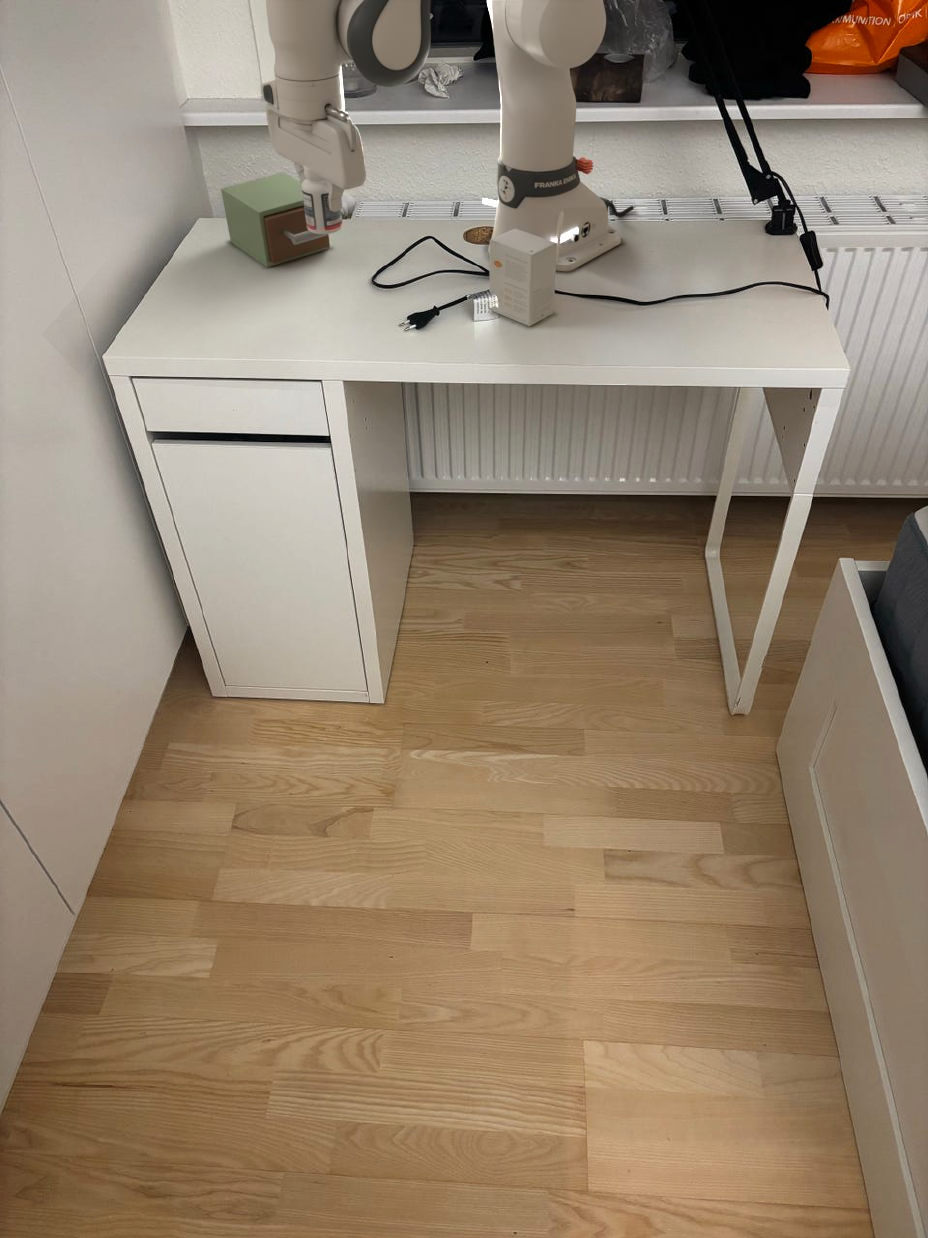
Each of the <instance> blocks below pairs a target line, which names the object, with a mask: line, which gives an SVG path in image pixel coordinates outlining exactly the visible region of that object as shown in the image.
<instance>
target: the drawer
mask: <svg viewBox="0 0 928 1238" xmlns="http://www.w3.org/2000/svg"><path fill="white" fill-rule="evenodd" d="M263 219H264V226H265V232H266V238H267V245H268V251H269V257H270V261H271V262H272V263H277V262H280V261H283V260H287V259H290V258H293V257H296V256H300V255H303V254H306V253H310V252H313V251H316V250H319V249H323V248H326V247H329V248H330V246H331V244H330V237H329V235H330V234H316V233H312V232H310V231H309V230H308V229H307V224H306V217H305V209H304V205H303V206H299V207H296V208H292V209H289V210H285V211H281V212H278V213H274V214H271V215H267V216H264V218H263Z"/></svg>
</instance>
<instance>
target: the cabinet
mask: <svg viewBox="0 0 928 1238" xmlns="http://www.w3.org/2000/svg"><path fill="white" fill-rule="evenodd" d="M220 193H221V197H222V202H223V208H224V213H225V218H226V219H225V220H226V224H227V228H228V229H227V230H228V234H229V238H230V239H229V240H230V243H232V244H233V245H235V246H236V247H237V248H239V249H240V250H242V251H243V252H245V253H246V255H247V254H248V255H249V256H250V257H252V258H253V259H255V260H256V261H257V262H259V263H260V264H261V265H263V266H264V267H266V268H270V267H273V266H277V265H280V264H284V263H286V262H290V261H294V260H296V259H300V258H303V257H307V256H309V255H312V254H316V253H320V252H323V251H326V250H330V246H329V247H326V248H323V249H319V250H316V251H313V252H310V253H306V254H303V255H300V256H296V257H293V258H290V259H287V260H283V261H280V262H277V263H272V262H271V261H270V257H269V251H268V245H267V238H266V232H265V226H264V219H263V218H264V216H267V215H271V214H274V213H278V212H281V211H285V210H289V209H292V208H296V207H299V206H303V205H304V201H303V193H302V185H301V182H300V180H299V179H297V178H295V177H293V176H291V175H290V174H288V173H286V172H284V171H283V172H280V173H275V174H272V175H268V176H264V177H261V178H260V177H259V178H255V179H252V180H248V181H245V182H241V183H237V184H233V185H230V186H225V187H221V188H220Z"/></svg>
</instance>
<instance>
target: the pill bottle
mask: <svg viewBox="0 0 928 1238" xmlns="http://www.w3.org/2000/svg"><path fill="white" fill-rule="evenodd" d="M303 167H304V174H305V177H307V179H305V180H304V181H303V183H302V193H303V201H304V209H305V217H306V224H307V229H308V230H309V231H310V232H312V233H316V234H328V235H330V234H334V233H337V232H340V230H341V229H342V228H343V225H344V223H343V216H342V215H343V214H342V209H341V210H340V211H336V212H333V211H331V210H329V209H328V208H327V207H326V204H327V203H326V199H325V197H327V196H329V189H330V187H328V186H327V180H325V179H323V178H322V177H320V176H318V175H316V174H314V173H313V172H312V171H311V169H310V168H308V167H306V166H304V165H303Z"/></svg>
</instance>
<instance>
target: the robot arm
mask: <svg viewBox="0 0 928 1238" xmlns="http://www.w3.org/2000/svg"><path fill="white" fill-rule="evenodd" d="M431 2H432V0H265V6H266V7H265V8H266V16H267V17H266V18H267V27H268V33H269V34H268V35H269V38H270V40H271V43H272V45H273V49H274V65H273V72H274V79H273V80H271V81H267V82H263V83H261V84H260V94H261V98H262V101H264V102H265V115H266V121H267V128H268V133H269V139H270V142H271V145H272V147H273V150H274V151H275V153H276V154H277V155H279V156H282V157H283V158H285V159H287V160H289V161H291V162H293V163H294V170H295V173H296V174H297V178H298V180H299V181H300V182H301V185H302V183H303V181H304V180H305V179H307V177H305V174H304V167H303V165H304V166H306V167H308V168H310V169H311V171H312V172H313V173H314V174H316V175H318V176H320V177H322V178H323V179H325V180H327V186H328V187H330V189H329V196H327V197H325V199H326V203H327V204H326V207H327V208H328V209H329V210H331V211H333V212H336V211H340V210H341V211H342V209H343V199H342V197H343V195H344V191H345V190H351V189H356V188H359V187H362V186H364V184H365V183H366V179H367V170H366V161H365V154H364V153H365V152H364V148H363V141H362V138H361V134H360V131H359V129H358V127H357V126H356V125H355V123H353V120H352V119H351V118H350V114H349V113H348V112H347V111H345V110H346V106H345V105H346V103H345V92H344V81H343V70H342V65H343V63H345V62H349V61H353V63H354V65H355V67H356V68H357V71H358V72H359V73H360V74H361V75H362V77H364V78H365V79H366V80H367V81H369V82H370V83H372V84H373V85H377V86H379V87H383V88H394V87H399V86H402V85H404V84H406V83H409V82H410V81H411V80H412V79H414V78H415V77H416V76H417V75H418V74H419V73H420V72H421V70H422V69H423V67H424V66H425V63H426V61H427V58H428V56H429V54H430V53H429V52H430V49H431V39H432V35H431V34H432V32H431V31H432V30H431V29H432V28H431V27H432V26H431ZM486 4H487V8H488V12H489V17H490V21H491V27H492V35H493V36H492V37H493V46H494V54H495V55H494V56H495V63H496V71H497V79H498V88H499V97H500V145H499V146H500V152H499V153H500V155H499V156H498V158H497V163H496V186H497V187H496V188H497V195H498V196H497V200H494V199H490V198H485V197H483V198H482V204H483V205H488V206H491V207H496V210H495V216H494V223H493V229H492V234H491V237H490V238H491V239H492V238H495V237H497V236H499V235H501V234H504V233H506V232H508V231H510V230H513V229H518V230H521V231H524V232H527V233H530V234H533V235H536V236H539V237H542V238H544V239H547V240H550V241H553V242H556V243H557V251H556V271H560V272H571V271H574V270H575V269H577V268H579V267H581V266H582V265H585V264H586V263H588V262H590V261H591V260H594V259H595V258H597V257H599V256H601V255H603V254H604V253H606V252H608V251H610V250H611V249H613V248H615V247H617V246H618V245H620V244H621V243H622V236H621V235H620V233H619V232H618V231H617V230H616V229H614V228H613V227H612V226H610V225H609V208H610V209H611V213H612V214H613V215H614V216H615V217H618V218H620V217H623V216H625V215H627V214H629V213H630V212H632V211H633V210H635V206H633V205H631V206H628V207H627V208H625V209H623V210H622V211H617V208H616V206H615V204H614V203H612V202H611V201H610V200H609V199H608V198H604V197H601V196H599V195H597V194H596V193H595V192H594V191H593V190H592V189H590V187H588V186H587V185H586V184H584V182H582V181H581V178H580V174H579V172H582V173H583V174H585V175H589V174H591V173H592V171H593V169H594V162H593V160H591V159H588V158H585V157H580V158H579V159H578V158H577V157H576V156H574V149H575V148H574V147H575V136H576V135H575V134H576V119H577V118H576V117H577V107H578V106H577V98H576V94H575V91H574V87H573V83H572V76H571V70H570V69H573V68H574V69H575V68H577V67H579V66H581V65H583V64H585V63H586V62H588V61H589V60H590V59H592V57H593V56H594V55H595V54H596V53H597V52H598V49H599V47H600V46H601V44H602V41H603V39H604V36H605V32H606V27H607V14H606V8H605V4H604V0H486ZM489 247H490V246H488V248H487V252H488V253H489Z"/></svg>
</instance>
